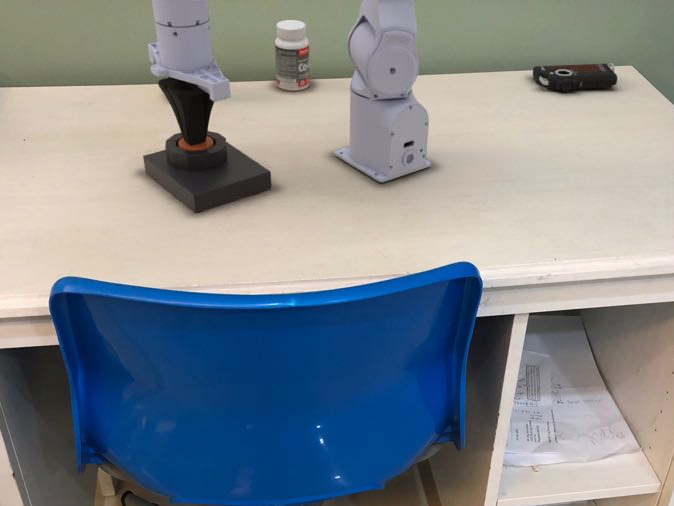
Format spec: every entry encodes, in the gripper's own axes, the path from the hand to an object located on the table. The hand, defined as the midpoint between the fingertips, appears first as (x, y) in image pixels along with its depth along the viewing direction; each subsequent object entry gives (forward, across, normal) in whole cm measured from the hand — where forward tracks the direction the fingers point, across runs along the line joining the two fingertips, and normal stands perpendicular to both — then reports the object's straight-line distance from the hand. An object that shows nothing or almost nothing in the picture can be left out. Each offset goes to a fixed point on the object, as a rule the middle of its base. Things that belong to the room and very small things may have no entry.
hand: (195, 142), depth 100 cm
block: (+4, +2, 0) cm, 4 cm away
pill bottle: (+4, -17, +25) cm, 31 cm away
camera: (+4, +6, +59) cm, 59 cm away
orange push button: (+2, 0, 0) cm, 2 cm away
